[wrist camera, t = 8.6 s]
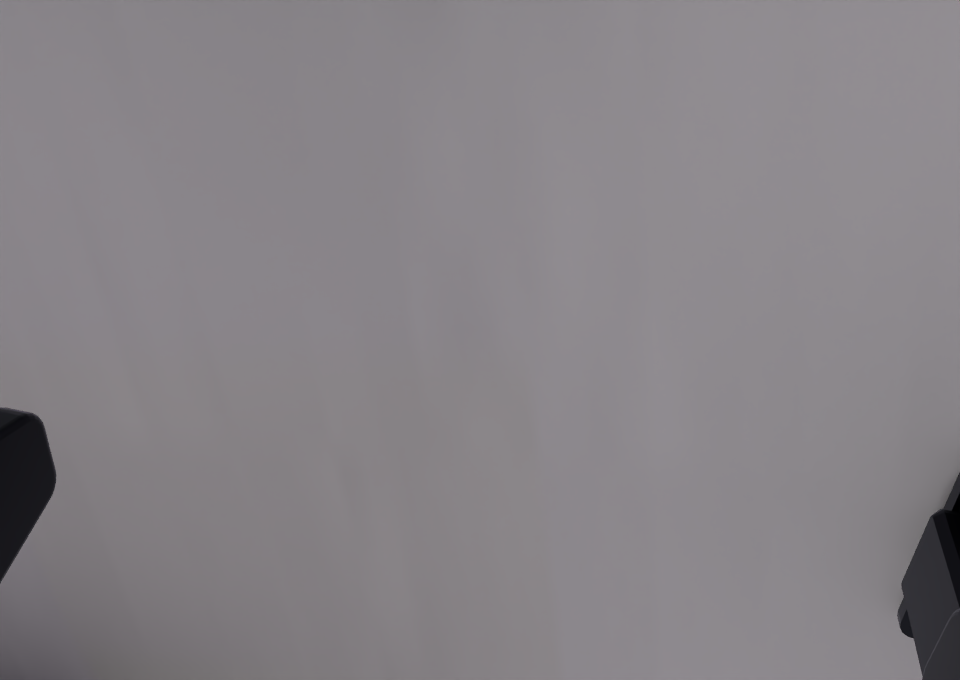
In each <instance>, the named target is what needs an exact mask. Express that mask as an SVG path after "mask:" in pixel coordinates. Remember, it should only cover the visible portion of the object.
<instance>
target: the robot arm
mask: <svg viewBox="0 0 960 680" xmlns="http://www.w3.org/2000/svg"><path fill="white" fill-rule="evenodd" d="M55 484H56V470H55V466H54V462H53V459H52V455H51V451H50V447H49V443H48V439H47V435H46V431H45V427H44V424H43V422H42V421H41V419H40V418H39V417H38V416H37V415H35V414H33V413H29V412H25V411H20V410H15V409H10V408H0V583H1V581H2V579H3V578H4V576H5V574H6V573H7V571H8V569H9V567H10V566H11V564H12V562H13V561H14V559H15V557H16V556H17V554H18V552H19V551H20V549H21V547H22V546H23V544H24V542H25V541H26V539H27V537H28V535H29V534H30V532H31V530H32V529H33V527H34V525H35V524H36V522H37V520H38V519H39V517H40V515H41V514H42V512H43V510H44V509H45V507H46V505H47V503H48V502H49V500H50V498H51V496H52V494H53V491H54V488H55ZM902 590H903V595H904V598H903V600H902V603H901V605H900V607H899V609H898V615H897V616H898V621H899V625H900V628H901V630H902V632H903V633H904V634H905V635H907V636H908V637H911V638H914V641H915V646H916V650H917V654H918V658H919V663H920V667H921V671H922V675H923V678H922V680H960V473H959V475H958V478H957V480H956V482H955V484H954V486H953V489H952V491H951V493H950V495H949V498H948V500H947V502H946V504H945V507H944V509H940V510H939V511H937V512H936V513H935V514H933V515H932V516H931V517H930V519H929V521H928V524H927V526H926V528H925V531H924V533H923V535H922V537H921V540H920V542H919V544H918V546H917V549H916V551H915V553H914V556H913V558H912V560H911V562H910V565H909V567H908V569H907V571H906V574H905V576H904V578H903V581H902Z"/></svg>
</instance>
